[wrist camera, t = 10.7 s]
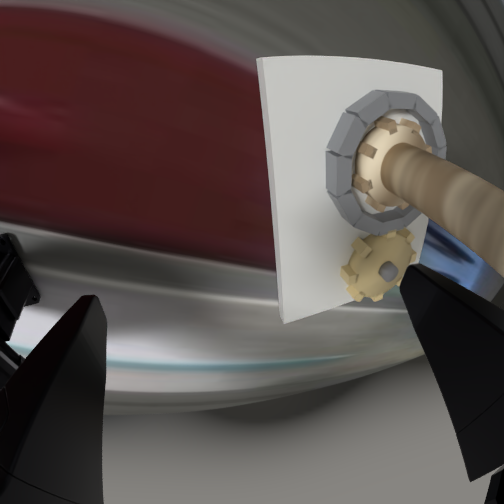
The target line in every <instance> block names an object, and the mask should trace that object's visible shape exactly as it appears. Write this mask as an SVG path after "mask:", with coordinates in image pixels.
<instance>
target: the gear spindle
mask: <svg viewBox="0 0 504 504" xmlns="http://www.w3.org/2000/svg"><path fill="white" fill-rule="evenodd" d="M374 124H375V127H374V128H372V129H371V130H370V131H369V132H368V133H367V134H366V135H365V137H364V138H363V140H362V141H360V142H359V144H358V147H357V149H356V151H357V153H356V157H355V174H353V175H352V181H351V186H353V187H354V188H356V189H357V190H359V191H360V192H362V193H363V194H364V193H365V194H367V195H368V196H367V198H366V200H365V202H366V203H367V204H368V205H370V206H371V207H373V208H374V209H375V210H377V211H379V212H382V213H383V212H384V210H385V208H386V206H387V207H394V206H397V207H399V208H400V209H402V210H403V209H405V208H406V207H408V206H409V204H410V205H411V206H412V207H414V208H415V209H417V210H418V211H420V212H421V213H423V214H424V215H426V216H427V217H428V218H430V219H431V220H433V221H434V222H435V223H437V224H438V225H440V226H441V227H442V228H444V229H445V230H446V231H448V232H449V233H450V234H452V235H453V236H454V237H456V238H457V239H458V240H459V241H461V242H462V243H463V244H465V245H466V246H467V247H468V248H470V249H471V250H472V251H473V252H475V253H476V254H477V255H478V256H479V257H481V258H482V259H483V260H484V261H485V262H487V263H488V264H489V265H490V266H491V267H492V268H494V269H495V270H496V271H497V272H498V273H499V274H500V275H502V276H503V277H504V191H502V190H501V189H499V188H497V187H496V186H494V185H492V184H491V183H489V182H487V181H485V180H483V179H482V178H480V177H478V176H476V175H474V174H472V173H471V172H469V171H467V170H465V169H463V168H461V167H459V166H457V165H455V164H453V163H451V162H449V161H447V160H445V159H442V158H440V157H438V156H436V155H434V154H432V148H431V146H429V145H427V144H425V142H424V140H423V138H422V136H421V135H420V134H419V132H420V130H421V126H420V125H418V124H417V123H416V122H413V121H410V120H407V119H404V118H401V120H400V123H399V124H397V123H396V121H395V120H393V119H390V118H387V117H383V116H380V117H379V118H377V119H376V120H375V121H374Z"/></svg>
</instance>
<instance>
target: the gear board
mask: <svg viewBox="0 0 504 504" xmlns="http://www.w3.org/2000/svg"><path fill="white" fill-rule="evenodd" d="M256 61H257V69H258V78H259V86H260V95H261V105H262V114H263V123H264V133H265V143H266V153H267V163H268V174H269V185H270V196H271V207H272V219H273V231H274V243H275V256H276V269H277V283H278V297H279V312H280V317H281V319H282V321H283V323H284V324H286V323H289V322H292V321H295V320H298V319H301V318H305V317H308V316H311V315H314V314H317V313H320V312H323V311H325V310H328V309H331V308H334V307H337V306H340V305H343V304H345V303H348V302H351V301H354V300H356V301H358V302H360V301H361V300H362V298H363V297H371V298H372V300H373V301H374V302H375V301H378V300H380V299H382V298H383V294H384V293H385V292H387V291H388V290H390V289H391V288H392V287H393V286H395V285H397V286H400V283H401V281H402V278H403V276H404V273H405V271H406V268H407V267H408V266H409V265H410V264H417V263H419V259H420V255H421V251H422V247H423V243H424V238H425V234H426V229H427V225H428V220H429V218H428V217H427V216H426V215H424V214H423V213H421V212H420V211H418V210H417V209H415V208H414V207H412V206H411V205H410V204H409V206H408V207H406V208H405V209H403V210H402V209H400V208H399V207H397V206H394V207H387V206H386V208H385V210H384V212H383V213H382V212H379V211H377V210H375V209H374V208H373V207H371V206H370V205H368V204H367V203H366V202H365V200H366V198H367V196H368V195H367V194H365V193H364V194H363V193H362V192H360V191H359V190H357V189H356V188H354V187H353V186H351V181H352V175H353V174H355V157H356V153H357V151H356V149H357V147H358V144H359V142H360V141H362V140H363V138H364V137H365V135H366V134H367V133H368V132H369V131H370V130H371V129H372V128H374V127H375V124H374V121H375V120H376V119H377V118H379V117H380V116H383V117H387V118H390V119H393V120H395V121H396V123H397V124H399V123H400V120H401V118H404V119H407V120H410V121H413V122H416V123H417V124H418V125H420V126H421V130H420V132H419V134H420V135H421V136H422V138H423V140H424V142H425V144H427V145H429V146H431V148H432V154H434V155H436V156H438V157H440V158H442V159H445V158H446V149H447V147H446V146H445V145H446V140H445V136H444V132H443V129H442V125H441V118H442V70H437V69H433V68H428V67H423V66H417V65H412V64H406V63H399V62H392V61H384V60H376V59H366V58H354V57H338V56H277V57H262V58H257V59H256Z"/></svg>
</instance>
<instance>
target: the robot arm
mask: <svg viewBox="0 0 504 504" xmlns="http://www.w3.org/2000/svg"><path fill="white" fill-rule="evenodd" d="M2 239H3V240H5V242H4V241H3V240H2ZM400 293H401V295H402V298H403V301H404V303H405V306H406V308H407V311H408V314H409V316H410V319H411V322H412V324H413V327H414V330H415V332H416V334H417V337H418V339H419V341H420V343H421V345H422V348H423V350H424V352H425V354H426V356H427V359H428V361H429V364H430V366H431V368H432V371H433V373H434V376H435V378H436V380H437V383H438V385H439V388H440V391H441V393H442V396H443V398H444V401H445V404H446V406H447V409H448V412H449V415H450V418H451V420H452V423H453V426H454V429H455V432H456V436H457V439H458V442H459V446H460V449H461V453H462V456H463V459H464V463H465V467H466V470H467V474H468V478H469V481H470V482H472V481H474V480H476V479H478V478H480V477H482V476H483V475H485V474H487V473H489V472H491V471H493V470H495V469H496V468H498V467H500V466H502V465H503V464H504V310H503V309H501V308H499V307H498V306H496V305H494V304H493V303H491V302H489V301H487V300H486V299H484V298H482V297H481V296H479V295H477V294H475V293H474V292H472V291H470V290H468V289H466V288H465V287H463V286H461V285H459V284H457V283H456V282H454V281H452V280H450V279H448V278H446V277H445V276H443V275H441V274H439V273H437V272H435V271H433V270H431V269H430V268H428V267H426V266H424V265H422V264H419V263H417V264H410V265H409V266H408V267H407V268H406V271H405V273H404V276H403V278H402V281H401V283H400ZM34 296H35V297H36V298H35V297H34ZM40 298H41V296H40V294H39V292H38V290H37V289H36V287H35V285H34V284H33V282H32V280H31V278H30V276H29V275H28V273H27V271H26V269H25V267H24V266H23V264H22V262H21V260H20V258H19V256H18V254H17V252H16V250H15V248H14V246H13V244H12V242H11V240H10V238H9V237H8V235H6V234H1V235H0V504H104V502H103V482H102V431H103V410H104V396H105V384H106V341H107V320H106V316H105V313H104V311H103V309H102V306H101V303H100V301H99V299H98V297H97V296H96V295H83V296H81V297H80V298H79V299H78V300H77V301H76V302H75V303H74V304H73V306H72V307H71V308H70V309H69V310H68V311H67V312H66V313H65V314H64V315H63V316H62V317H61V318H60V320H59V321H58V322H57V323H56V324H55V325H54V326H53V327H52V328H51V329H50V331H49V332H48V333H47V334H46V335H45V336H44V337H43V339H42V340H41V341H40V342H39V343H38V344H37V346H36V347H35V348H34V349H33V350H32V351H31V353H30V354H29V355H28V356H27V357H26V359H25V358H23V357H22V356H21V355H19V354H17V353H16V352H15V351H14V350H13V349H12V348H11V347H10V346H9V345H8V344H7V343H6V341H9V340H10V338H11V335H12V332H13V329H14V327H15V324H16V321H17V320H18V319H19V318H20V315H21V312H22V310H23V307H25V306H28V305H32V304H36V303H39V301H40ZM484 504H504V465H503V466H502V467H501V468H500V469H498V470H497V471H496V472H495V473H494V474H493V475H492V476H491V480H490V485H489V489H488V492H487V496H486V500H485V503H484Z"/></svg>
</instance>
